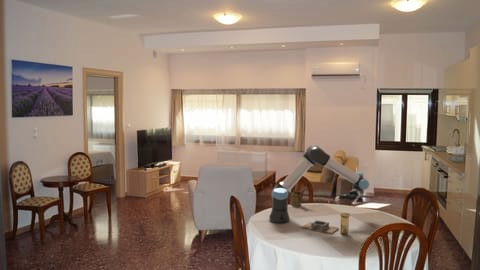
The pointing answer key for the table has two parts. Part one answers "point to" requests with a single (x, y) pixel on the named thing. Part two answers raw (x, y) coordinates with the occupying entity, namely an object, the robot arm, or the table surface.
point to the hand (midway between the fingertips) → (345, 201)
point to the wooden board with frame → (320, 227)
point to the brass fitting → (344, 223)
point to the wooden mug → (296, 197)
